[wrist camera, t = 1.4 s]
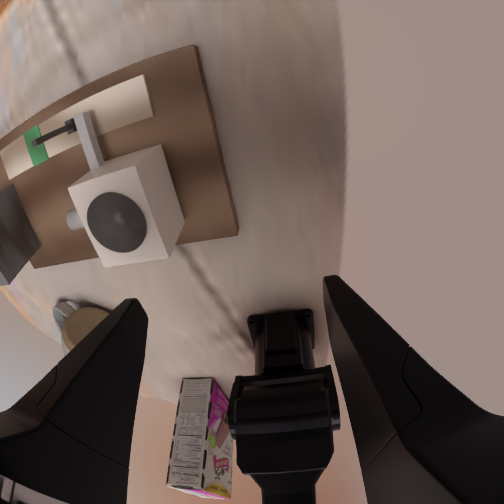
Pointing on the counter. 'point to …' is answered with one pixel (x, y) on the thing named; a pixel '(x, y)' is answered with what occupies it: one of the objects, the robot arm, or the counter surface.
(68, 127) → the peak needle
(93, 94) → the test rig
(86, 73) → the counter surface
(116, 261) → the gauge
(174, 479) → the candy bar box
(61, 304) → the ceramic mug
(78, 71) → the counter surface
